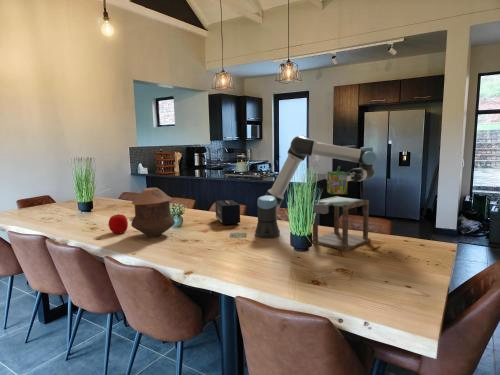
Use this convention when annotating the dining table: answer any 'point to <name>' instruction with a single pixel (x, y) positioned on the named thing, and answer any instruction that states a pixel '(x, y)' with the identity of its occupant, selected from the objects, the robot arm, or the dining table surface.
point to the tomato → (118, 224)
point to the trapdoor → (336, 201)
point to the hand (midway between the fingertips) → (336, 177)
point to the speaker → (228, 212)
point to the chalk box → (337, 182)
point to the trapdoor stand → (343, 238)
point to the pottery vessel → (152, 212)
